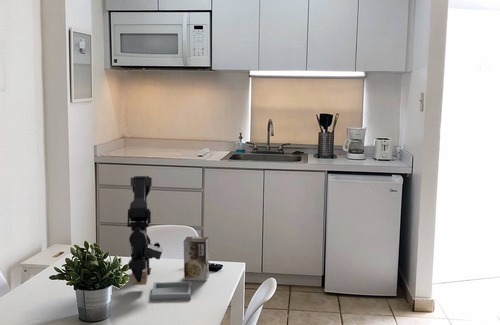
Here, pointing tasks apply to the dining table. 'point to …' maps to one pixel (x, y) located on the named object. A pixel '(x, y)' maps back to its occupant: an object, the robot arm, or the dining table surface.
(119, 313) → the dining table surface
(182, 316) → the dining table surface
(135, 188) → the robot arm
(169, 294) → the grey tray
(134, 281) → the walnut block
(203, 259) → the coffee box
